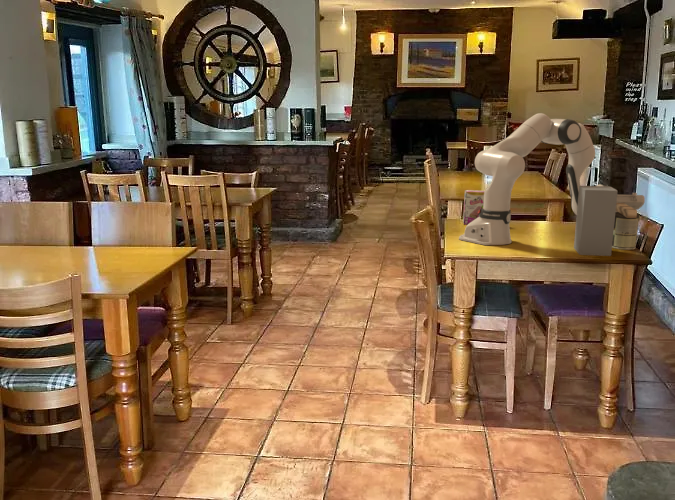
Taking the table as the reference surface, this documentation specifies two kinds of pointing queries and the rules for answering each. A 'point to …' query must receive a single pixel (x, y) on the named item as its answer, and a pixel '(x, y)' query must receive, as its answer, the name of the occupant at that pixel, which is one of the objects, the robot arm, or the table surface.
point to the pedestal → (595, 220)
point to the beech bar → (626, 210)
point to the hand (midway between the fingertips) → (623, 194)
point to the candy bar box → (472, 205)
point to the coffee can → (625, 232)
